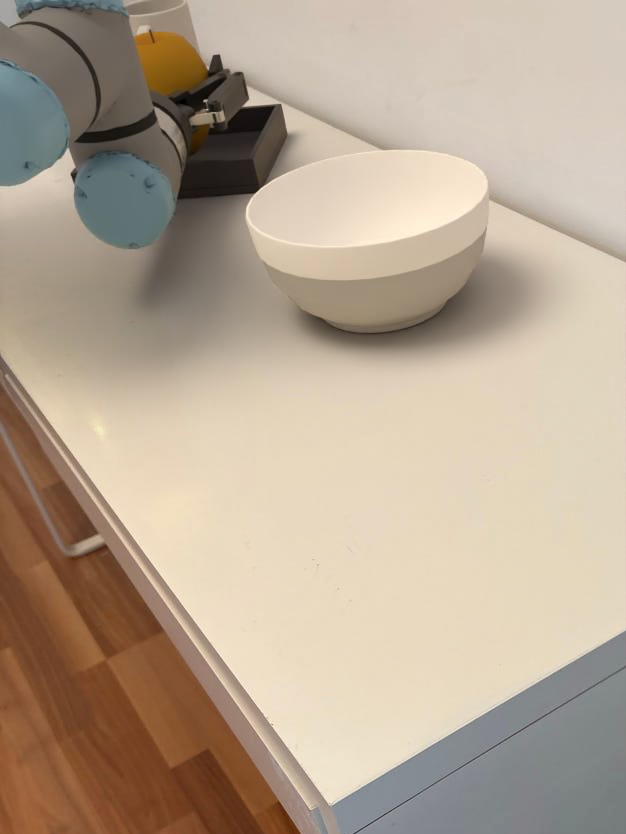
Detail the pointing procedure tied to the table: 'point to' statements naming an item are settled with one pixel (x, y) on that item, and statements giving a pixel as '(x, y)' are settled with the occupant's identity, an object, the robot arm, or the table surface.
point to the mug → (162, 18)
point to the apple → (172, 69)
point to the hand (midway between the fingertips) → (171, 74)
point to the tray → (235, 154)
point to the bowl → (372, 235)
